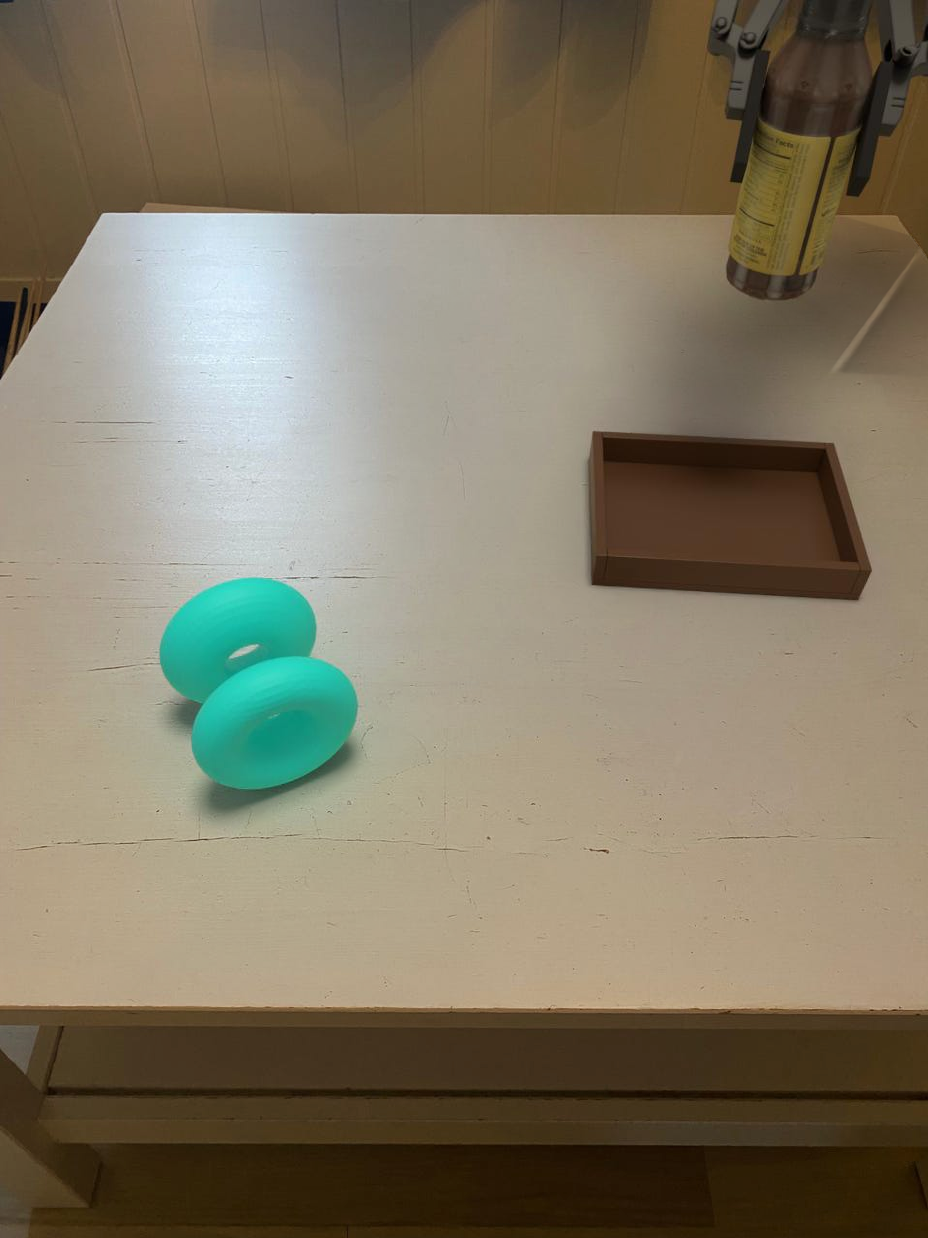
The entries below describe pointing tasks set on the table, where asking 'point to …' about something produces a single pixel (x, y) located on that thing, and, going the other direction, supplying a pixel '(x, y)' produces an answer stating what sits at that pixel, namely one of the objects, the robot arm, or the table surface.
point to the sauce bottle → (801, 151)
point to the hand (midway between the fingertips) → (797, 179)
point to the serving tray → (723, 516)
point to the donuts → (256, 684)
